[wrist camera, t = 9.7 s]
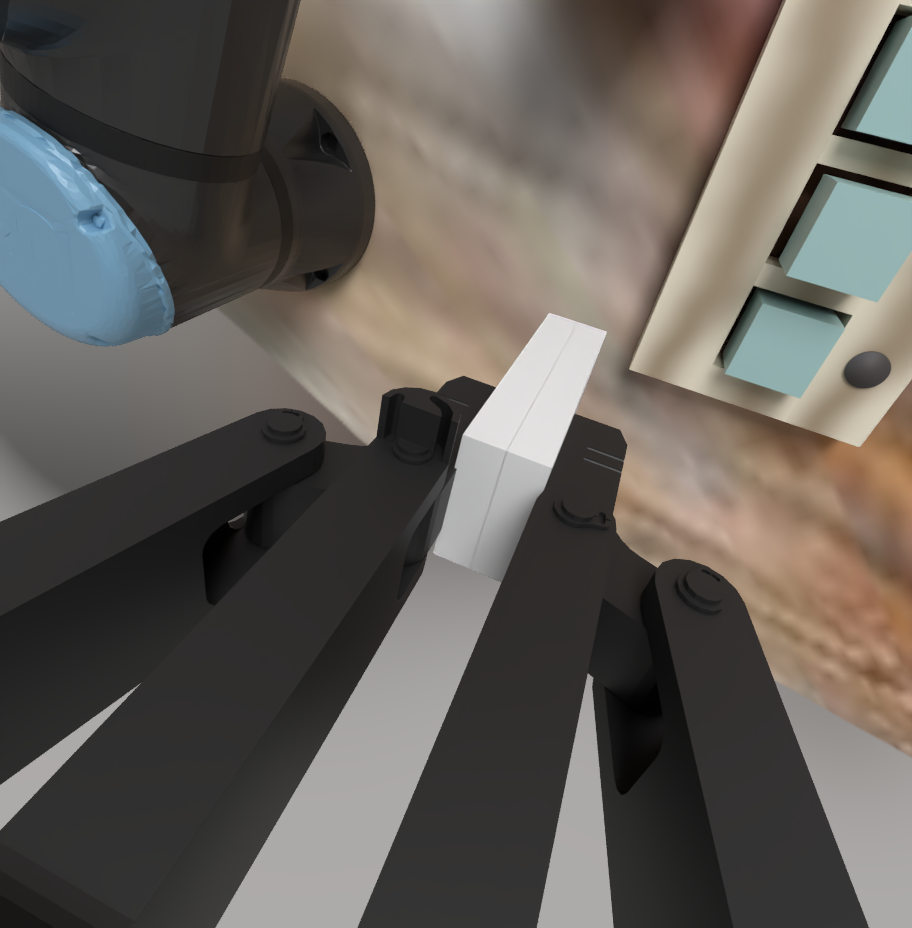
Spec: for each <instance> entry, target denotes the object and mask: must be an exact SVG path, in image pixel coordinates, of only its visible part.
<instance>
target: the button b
mask: <svg viewBox="0 0 912 928" xmlns="http://www.w3.org/2000/svg"><path fill="white" fill-rule="evenodd" d="M911 251H912V197H910V196H907V195H903V194H899V193H895V192H891V191H888V190H884V189H880V188H876V187H872V186H869V185H865V184H861V183H857V182H853V181H850V180H846V179H842V178H838V177H834V176H831V175H827V174H824V175H823V177H822V178H821V180H820V182H819V184H818V186H817V188H816V190H815V192H814V194H813V195H812V197H811V199H810V201H809V203H808V205H807V207H806V209H805V211H804V212H803V214H802V216H801V218H800V220H799V222H798V224H797V226H796V227H795V229H794V231H793V233H792V235H791V237H790V239H789V241H788V243H787V244H786V246H785V248H784V250H783V252H782V254H781V256H780V258H779V262H780V264H781V266H782V268H783V270H784V272H785V274H786V276H789V277H792V278H796V279H799V280H802V281H806V282H809V283H813V284H816V285H819V286H823V287H826V288H829V289H833V290H836V291H840V292H843V293H846V294H850V295H853V296H857V297H860V298H863V299H867V300H870V301H873V302H878V301H879V299H880V298H881V296H882V295H883V293H884V292H885V290H886V289H887V287H888V286H889V284H890V283H891V281H892V280H893V278H894V277H895V275H896V274H897V272H898V271H899V269H900V268H901V266H902V265H903V263H904V262H905V260H906V259H907V257H908V256H909V254H910V253H911Z"/></svg>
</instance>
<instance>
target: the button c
mask: <svg viewBox="0 0 912 928" xmlns="http://www.w3.org/2000/svg"><path fill="white" fill-rule="evenodd" d="M841 128H844V129H848V130H852V131H856V132H860V133H864V134H868V135H872V136H876V137H880V138H884V139H888V140H892V141H896V142H900V143H904V144H908V145H912V15H911V16H909V17H906V18H904V19H901V20H899V21H896V22H895V24H894V26H893V28H892V30H891V32H890V34H889V36H888V38H887V40H886V42H885V43H884V45H883V47H882V49H881V51H880V53H879V55H878V57H877V59H876V61H875V63H874V64H873V66H872V68H871V70H870V72H869V74H868V76H867V78H866V80H865V82H864V84H863V85H862V87H861V89H860V91H859V93H858V95H857V97H856V99H855V101H854V103H853V105H852V107H851V108H850V110H849V112H848V114H847V116H846V118H845V120H844V122H843V124H842V126H841Z"/></svg>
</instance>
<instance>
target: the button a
mask: <svg viewBox="0 0 912 928" xmlns="http://www.w3.org/2000/svg"><path fill="white" fill-rule="evenodd" d="M844 330H845V328H844V326H843V324H842V323H841V321H840V320H839V318H838V317H837V315H836V313H835V312H834V310H833V309H830V308H827V307H823V306H820V305H817V304H813V303H810V302H807V301H803V300H800V299H797V298H793V297H790V296H787V295H783V294H780V293H777V292H773V291H770V290H767V289H763V288H760V287H757V288H756V290H755V292H754V294H753V296H752V298H751V299H750V301H749V303H748V305H747V307H746V309H745V311H744V313H743V315H742V317H741V319H740V321H739V322H738V324H737V326H736V328H735V330H734V332H733V334H732V336H731V338H730V340H729V342H728V343H727V345H726V347H725V349H724V351H723V359H724V370H725V374H727V375H730V376H733V377H736V378H739V379H742V380H745V381H748V382H751V383H754V384H757V385H760V386H763V387H766V388H769V389H772V390H775V391H778V392H781V393H784V394H788V395H791V396H794V397H797V398H801V397H802V395H803V394H804V392H805V390H806V389H807V387H808V386H809V384H810V383H811V381H812V380H813V378H814V377H815V375H816V373H817V372H818V370H819V369H820V367H821V366H822V364H823V363H824V361H825V360H826V358H827V356H828V355H829V353H830V352H831V350H832V349H833V347H834V346H835V344H836V342H837V341H838V339H839V338H840V336H841V335H842V333H843V332H844Z"/></svg>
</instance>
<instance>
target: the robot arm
mask: <svg viewBox="0 0 912 928" xmlns="http://www.w3.org/2000/svg"><path fill="white" fill-rule="evenodd" d="M300 1H301V0H0V99H1V100H0V285H1V286H2V287H3V288H4V289H5V291H6V292H7V293H8V294H9V295H10V296H11V297H12V298H13V299H14V300H15V301H16V302H18V303H19V304H20V305H21V306H22V307H23V308H24V309H25V310H27V311H28V312H29V313H30V314H31V315H33V316H34V317H35V318H37V319H38V320H39V321H41V322H42V323H44V324H45V325H47V326H48V327H50V328H52V329H53V330H55V331H56V332H58V333H60V334H62V335H64V336H66V337H68V338H71V339H73V340H76V341H78V342H81V343H85V344H89V345H95V346H116V345H121V344H125V343H127V342H131V341H134V340H136V339H139V338H142V337H145V336H153V335H161V334H163V333H165V332H166V331H168V330H169V328H172V327H174V326H176V325H178V324H181V323H183V322H185V321H188V320H190V319H192V318H194V317H196V316H198V315H201V314H203V313H205V312H207V311H210V310H212V309H214V308H216V307H219V306H221V305H223V304H225V303H228V302H230V301H232V300H234V299H236V298H239V297H241V296H243V295H245V294H248V293H250V292H252V291H254V290H257V289H269V290H281V291H293V292H300V291H308V290H313V289H317V288H320V287H322V286H324V285H327V284H329V283H331V282H333V281H335V280H337V279H339V278H340V277H342V276H343V275H345V274H346V273H347V272H348V271H350V270H351V269H352V268H353V267H354V266H355V264H356V263H357V262H358V261H359V259H360V258H361V256H362V254H363V253H364V251H365V249H366V246H367V244H368V241H369V239H370V235H371V232H372V227H373V222H374V213H375V195H374V185H373V180H372V175H371V170H370V167H369V163H368V160H367V157H366V155H365V152H364V150H363V147H362V145H361V143H360V141H359V139H358V137H357V135H356V133H355V132H354V130H353V128H352V127H351V125H350V124H349V122H348V121H347V120H346V118H345V117H344V116H343V114H342V113H341V112H340V111H339V110H338V109H337V108H336V107H335V106H334V105H333V104H332V103H331V102H330V101H329V100H328V99H327V98H326V97H324V96H323V95H322V94H320V93H319V92H317V91H316V90H314V89H313V88H311V87H309V86H307V85H305V84H302V83H300V82H297V81H294V80H290V79H285V78H281V76H282V72H283V68H284V64H285V60H286V56H287V52H288V48H289V44H290V40H291V36H292V32H293V29H294V25H295V21H296V17H297V13H298V9H299V5H300ZM606 333H607V332H606V331H603V330H600V329H597V328H594V327H591V326H588V325H585V324H582V323H579V322H576V321H573V320H570V319H567V318H564V317H561V316H557V315H554V314H551V313H549V314H548V316H547V317H546V318H545V320H544V321H543V323H542V324H541V325H540V327H539V328H538V330H537V331H536V332H535V334H534V335H533V337H532V338H531V339H530V341H529V342H528V344H527V345H526V346H525V348H524V349H523V351H522V352H521V353H520V355H519V356H518V358H517V359H516V360H515V362H514V363H513V365H512V366H511V367H510V369H509V370H508V372H507V373H506V375H505V376H504V377H503V379H502V380H501V382H500V383H499V384H498V386H497V387H493V386H490V385H488V384H485V383H482V382H479V381H476V380H474V379H471V378H468V377H465V376H462V377H459V378H456V379H453V380H451V381H448V382H446V383H445V384H444V385H443V386H442V387H441V389H440V390H439V391H438V392H437V393H436V392H433V391H429V390H425V389H422V388H407V387H405V388H399V389H393V390H391V391H389V392H387V393H385V394H383V395H382V402H381V409H380V416H379V423H378V430H377V437H376V438H375V439H374V440H373V441H372V442H371V443H370V444H369V445H368V446H357V445H348V444H342V443H335V442H330V441H325V439H326V431H325V429H324V427H323V424H322V423H321V422H320V421H319V420H318V419H316V418H315V417H314V416H312V415H310V414H307V413H305V412H302V411H298V410H293V409H286V408H283V409H268V410H265V411H261V412H257V413H255V414H252V415H250V416H248V417H245V418H243V419H241V420H238V421H236V422H234V423H231V424H229V425H227V426H224V427H222V428H220V429H217V430H215V431H212V432H210V433H208V434H205V435H203V436H201V437H198V438H196V439H194V440H191V441H189V442H187V443H184V444H182V445H180V446H177V447H175V448H172V449H170V450H168V451H166V452H163V453H161V454H158V455H156V456H154V457H151V458H149V459H147V460H144V461H142V462H140V463H137V464H135V465H133V466H131V467H128V468H125V469H123V470H121V471H118V472H116V473H114V474H111V475H110V476H107V477H104V478H102V479H100V480H97V481H95V482H93V483H90V484H88V485H86V486H83V487H81V488H79V489H76V490H74V491H71V492H69V493H67V494H64V495H62V496H60V497H57V498H55V499H53V500H50V501H49V502H46V503H44V504H41V505H39V506H36V507H34V508H32V509H29V510H27V511H24V512H22V513H20V514H17V515H15V516H13V517H11V518H8V519H6V520H3V521H1V522H0V784H2V783H3V782H5V781H6V780H7V779H9V778H10V777H12V776H13V775H14V774H16V773H17V772H19V771H20V770H21V769H23V768H24V767H25V766H27V765H28V764H29V763H31V762H32V761H34V760H35V759H36V758H38V757H39V756H40V755H42V754H43V753H45V752H46V751H48V750H49V749H50V748H52V747H53V746H54V745H56V744H57V743H59V742H60V741H61V740H62V739H64V738H65V737H67V736H68V735H70V734H71V733H72V732H74V731H75V730H77V729H78V728H79V727H80V726H82V725H83V724H85V723H86V722H88V721H89V720H90V719H92V718H93V717H95V716H96V715H97V714H99V713H100V712H101V711H103V710H104V709H106V708H107V707H108V706H110V705H111V704H112V703H114V702H115V701H117V700H118V699H119V698H121V697H122V696H124V695H125V694H126V693H127V692H129V691H130V690H132V689H133V688H134V687H136V686H137V685H139V684H140V683H141V682H142V683H141V684H140V685H139V686H138V687H137V688H136V689H135V690H134V691H133V692H132V693H131V694H130V695H129V696H128V697H127V699H126V700H125V701H124V702H123V703H122V704H121V705H120V706H119V707H118V708H117V709H116V710H115V711H114V712H113V713H112V714H111V715H110V717H109V718H108V719H107V720H105V722H104V723H103V724H102V725H101V726H100V727H99V728H98V729H97V730H96V731H95V732H94V733H93V734H92V735H91V736H90V737H89V738H88V739H87V740H86V742H85V743H84V744H83V745H82V746H81V747H80V748H79V749H78V750H77V751H76V752H75V753H74V754H73V755H72V756H71V757H70V758H69V759H68V760H67V761H66V762H65V764H63V765H62V767H61V768H60V769H59V770H58V771H57V772H56V773H55V774H54V775H53V776H52V777H51V778H50V779H49V780H48V781H47V782H46V783H45V784H44V785H43V787H42V788H40V790H39V791H38V792H37V793H36V794H35V795H34V796H33V797H32V798H31V799H30V800H29V801H28V802H27V803H26V804H25V805H24V806H23V807H22V808H21V809H20V810H19V812H18V813H17V814H16V815H15V816H14V817H13V818H12V819H11V820H10V821H9V822H8V823H7V824H6V825H5V826H4V827H3V828H2V829H1V830H0V928H215V927H216V925H217V924H218V922H219V920H220V919H221V917H222V915H223V913H224V912H225V910H226V908H227V907H228V905H229V903H230V901H231V899H232V898H233V896H234V895H235V893H236V891H237V890H238V888H239V886H240V884H241V883H242V881H243V879H244V878H245V876H246V874H247V872H248V871H249V869H250V867H251V866H252V864H253V862H254V860H255V859H256V857H257V855H258V854H259V852H260V850H261V848H262V847H263V845H264V843H265V842H266V840H267V838H268V836H269V835H270V833H271V831H272V830H273V828H274V826H275V824H276V822H277V821H278V819H279V818H280V816H281V814H282V812H283V811H284V809H285V807H286V806H287V804H288V802H289V800H290V799H291V797H292V795H293V794H294V792H295V790H296V788H297V787H298V785H299V783H300V782H301V780H302V778H303V776H304V775H305V773H306V771H307V770H308V768H309V766H310V764H311V763H312V761H313V759H314V758H315V756H316V754H317V752H318V751H319V749H320V747H321V746H322V744H323V742H324V741H325V739H326V737H327V735H328V734H329V732H330V730H331V728H332V727H333V725H334V723H335V722H336V720H337V718H338V717H339V714H340V713H341V711H342V709H343V708H344V706H345V704H346V703H347V701H348V699H349V698H350V696H351V694H352V693H353V691H354V689H355V687H356V686H357V684H358V682H359V680H360V679H361V677H362V675H363V674H364V672H365V670H366V669H367V667H368V665H369V663H370V662H371V660H372V658H373V657H374V655H375V653H376V651H377V650H378V648H379V646H380V645H381V643H382V641H383V639H384V638H385V636H386V634H387V633H388V631H389V629H390V627H391V626H392V624H393V622H394V621H395V619H396V617H397V615H398V614H399V612H400V610H401V609H402V607H403V605H404V604H405V602H406V600H407V598H408V597H409V595H410V593H411V591H412V590H413V588H414V586H415V585H416V583H417V581H418V579H419V578H420V576H421V574H422V572H423V569H424V565H425V561H426V557H427V553H428V551H429V549H430V548H431V546H432V545H433V543H434V541H435V540H436V538H437V540H436V544H435V548H434V552H433V554H436V555H438V556H440V557H443V558H445V559H448V560H450V561H452V562H455V563H457V564H459V565H462V566H464V567H467V568H469V569H471V570H474V571H476V572H479V573H481V574H483V575H486V576H488V577H491V578H493V579H495V580H498V581H500V582H502V583H501V585H500V588H499V590H498V593H497V595H496V597H495V600H494V602H493V604H492V607H491V609H490V612H489V614H488V616H487V619H486V621H485V624H484V626H483V628H482V631H481V633H480V636H479V638H478V640H477V643H476V645H475V648H474V650H473V652H472V655H471V657H470V659H469V662H468V664H467V667H466V669H465V671H464V674H463V676H462V679H461V681H460V684H459V686H458V688H457V691H456V693H455V695H454V698H453V700H452V703H451V705H450V707H449V710H448V712H447V715H446V717H445V720H444V722H443V724H442V727H441V729H440V732H439V734H438V736H437V739H436V741H435V743H434V746H433V748H432V751H431V753H430V755H429V758H428V760H427V763H426V765H425V767H424V770H423V772H422V775H421V777H420V780H419V782H418V784H417V787H416V789H415V791H414V794H413V796H412V799H411V801H410V803H409V806H408V809H407V811H406V813H405V815H404V818H403V820H402V823H401V825H400V827H399V830H398V832H397V835H396V837H395V839H394V842H393V844H392V847H391V849H390V851H389V854H388V856H387V858H386V861H385V863H384V866H383V868H382V870H381V873H380V875H379V878H378V880H377V883H376V885H375V887H374V890H373V892H372V895H371V897H370V899H369V902H368V904H367V906H366V909H365V911H364V914H363V916H362V918H361V921H360V923H359V926H358V928H537V923H538V918H539V912H540V908H541V903H542V898H543V893H544V888H545V883H546V878H547V872H548V868H549V863H550V858H551V853H552V848H553V843H554V838H555V833H556V828H557V823H558V818H559V812H560V808H561V803H562V798H563V793H564V788H565V783H566V778H567V773H568V768H569V763H570V758H571V753H572V748H573V743H574V738H575V733H576V728H577V723H578V718H579V713H580V709H581V704H582V698H583V693H584V688H585V684H586V679H587V674H588V673H589V674H590V675H591V676H592V677H593V678H594V679H593V686H592V688H593V699H594V711H595V721H596V732H597V744H598V755H599V767H600V778H601V789H602V800H603V811H604V823H605V834H606V845H607V856H608V867H609V879H610V889H611V901H612V913H613V924H614V928H869V927H868V924H867V921H866V919H865V916H864V914H863V911H862V908H861V906H860V903H859V901H858V898H857V895H856V893H855V890H854V887H853V885H852V883H851V880H850V877H849V874H848V872H847V869H846V867H845V864H844V861H843V859H842V856H841V854H840V851H839V848H838V846H837V843H836V841H835V838H834V835H833V833H832V830H831V827H830V825H829V822H828V820H827V817H826V814H825V812H824V809H823V807H822V804H821V802H820V799H819V797H818V794H817V791H816V789H815V786H814V783H813V780H812V778H811V775H810V773H809V770H808V767H807V765H806V762H805V760H804V757H803V754H802V752H801V749H800V747H799V744H798V741H797V739H796V736H795V734H794V731H793V728H792V726H791V723H790V720H789V718H788V715H787V713H786V710H785V708H784V705H783V702H782V700H781V697H780V695H779V692H778V689H777V687H776V684H775V681H774V679H773V676H772V673H771V671H770V668H769V666H768V663H767V660H766V658H765V655H764V653H763V650H762V647H761V645H760V642H759V640H758V637H757V634H756V632H755V629H754V626H753V624H752V621H751V619H750V616H749V613H748V611H747V608H746V606H745V603H744V601H743V600H742V598H741V596H740V595H739V593H738V591H737V590H736V589H735V588H734V587H733V586H732V585H731V584H730V583H729V582H728V581H727V580H726V579H725V578H724V577H723V576H722V575H720V574H718V573H717V572H715V571H714V570H712V569H710V568H709V567H707V566H705V565H702V564H699V563H696V562H694V561H691V560H683V559H672V560H669V561H665V562H662V564H661V565H660V566H659V567H658V568H657V567H655V566H654V565H652V564H651V563H649V562H648V561H646V560H644V559H643V558H641V557H640V556H639V555H637V554H636V553H635V552H633V551H632V550H631V549H630V548H629V547H628V546H627V545H626V544H625V543H624V542H623V541H622V540H621V539H620V537H619V536H618V534H617V532H616V521H615V518H614V516H613V511H614V506H615V501H616V496H617V492H618V487H619V482H620V477H621V472H622V468H623V463H624V462H623V461H624V459H625V454H626V449H627V444H626V442H625V439H624V437H623V435H622V433H621V431H620V430H619V429H616V428H613V427H610V426H608V425H605V424H602V423H599V422H596V421H594V420H591V419H588V418H585V417H582V416H580V415H577V414H576V412H577V409H578V406H579V404H580V401H581V399H582V396H583V393H584V391H585V388H586V385H587V383H588V380H589V378H590V375H591V372H592V370H593V367H594V365H595V362H596V359H597V357H598V354H599V351H600V349H601V346H602V344H603V341H604V338H605V336H606ZM242 513H244V516H243V517H241V518H239V519H238V520H236V521H233V522H230V523H228V521H230V520H232V519H233V518H235V517H237V516H238V515H240V514H242Z"/></svg>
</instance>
